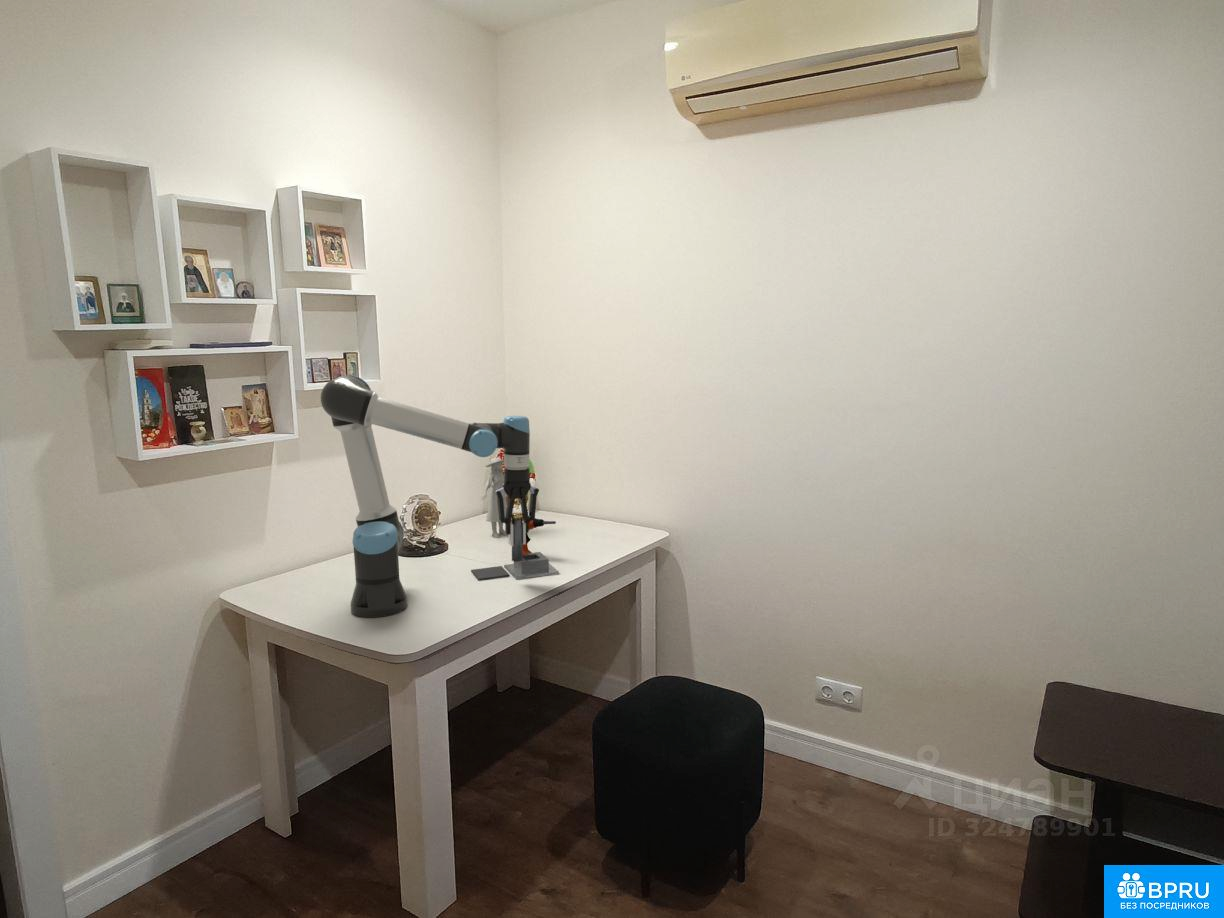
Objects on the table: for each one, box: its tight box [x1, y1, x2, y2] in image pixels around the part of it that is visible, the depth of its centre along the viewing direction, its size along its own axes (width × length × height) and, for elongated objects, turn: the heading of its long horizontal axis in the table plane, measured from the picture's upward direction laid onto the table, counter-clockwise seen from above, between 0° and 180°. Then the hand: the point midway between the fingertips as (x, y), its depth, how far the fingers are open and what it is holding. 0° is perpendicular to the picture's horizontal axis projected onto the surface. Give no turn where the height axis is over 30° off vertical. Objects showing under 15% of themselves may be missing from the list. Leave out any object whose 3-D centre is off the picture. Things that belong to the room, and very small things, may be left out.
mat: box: [470, 565, 511, 581], centre depth 243 cm, size 10×10×1 cm
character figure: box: [481, 457, 508, 538], centre depth 287 cm, size 17×8×30 cm, turn 142°
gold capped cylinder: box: [511, 512, 523, 562], centre depth 231 cm, size 4×4×14 cm
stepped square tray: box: [503, 551, 560, 580], centre depth 246 cm, size 14×14×4 cm
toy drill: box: [511, 517, 557, 554], centre depth 258 cm, size 5×19×15 cm, turn 63°
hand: (517, 543), depth 231 cm, fingers closed on gold capped cylinder, 3 cm apart
